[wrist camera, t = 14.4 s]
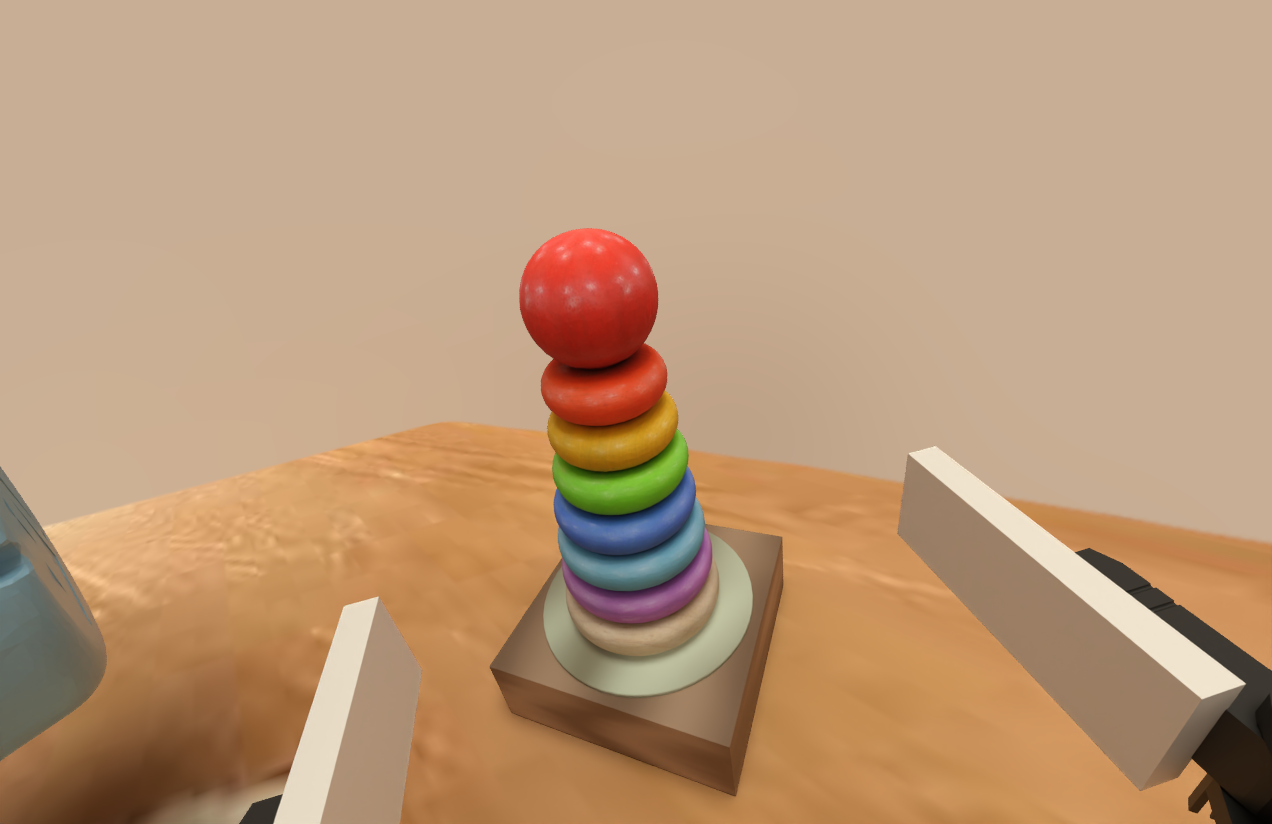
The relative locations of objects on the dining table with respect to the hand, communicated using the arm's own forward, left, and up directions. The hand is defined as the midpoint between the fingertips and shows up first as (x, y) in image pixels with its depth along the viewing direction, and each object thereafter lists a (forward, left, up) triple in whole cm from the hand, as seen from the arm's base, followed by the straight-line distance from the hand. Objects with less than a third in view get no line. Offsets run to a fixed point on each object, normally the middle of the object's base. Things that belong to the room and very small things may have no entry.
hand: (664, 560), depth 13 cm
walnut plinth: (-6, +8, -17) cm, 20 cm away
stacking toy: (-6, +8, -13) cm, 16 cm away
